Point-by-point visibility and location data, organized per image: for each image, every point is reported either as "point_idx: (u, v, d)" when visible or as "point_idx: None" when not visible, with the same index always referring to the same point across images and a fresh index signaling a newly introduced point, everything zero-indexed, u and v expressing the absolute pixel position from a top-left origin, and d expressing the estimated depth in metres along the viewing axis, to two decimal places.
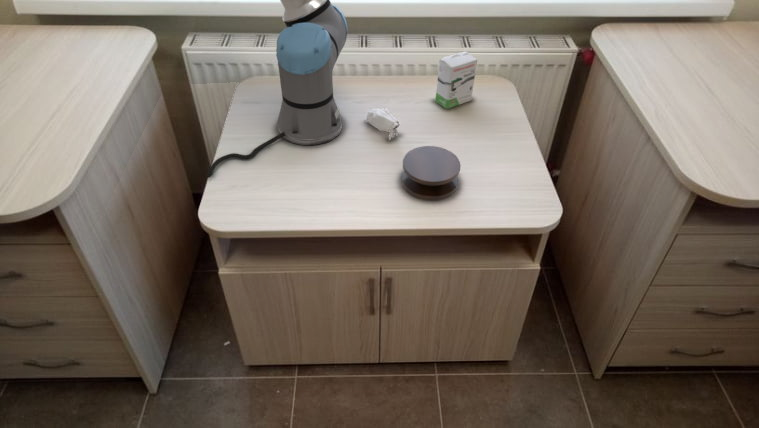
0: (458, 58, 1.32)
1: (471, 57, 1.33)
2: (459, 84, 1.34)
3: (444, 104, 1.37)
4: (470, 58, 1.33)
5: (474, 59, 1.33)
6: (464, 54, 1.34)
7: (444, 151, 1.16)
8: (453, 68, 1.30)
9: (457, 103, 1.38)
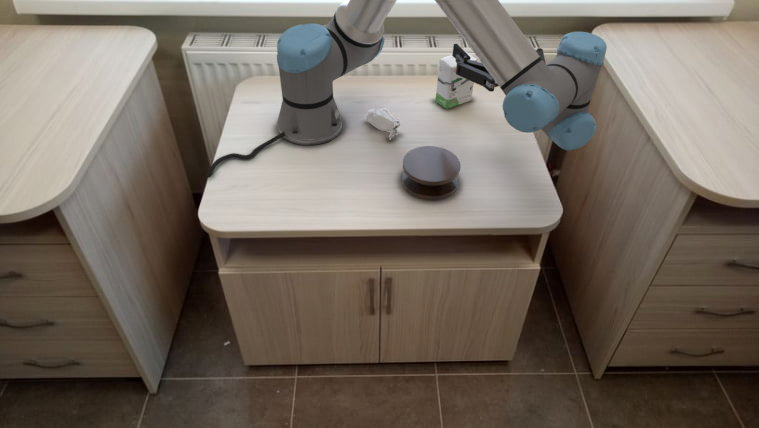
0: None
1: (471, 57, 1.33)
2: (459, 84, 1.34)
3: (444, 104, 1.37)
4: (471, 58, 1.33)
5: (474, 59, 1.33)
6: None
7: (444, 151, 1.16)
8: (453, 68, 1.30)
9: (457, 103, 1.38)
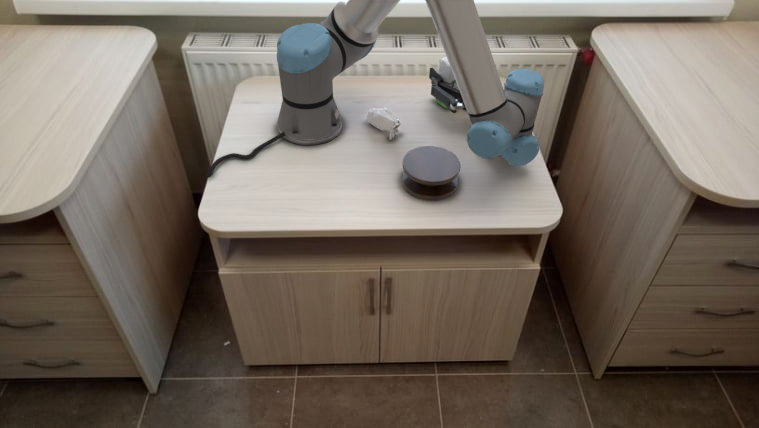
0: None
1: None
2: None
3: None
4: None
5: None
6: None
7: (444, 151, 1.16)
8: None
9: None
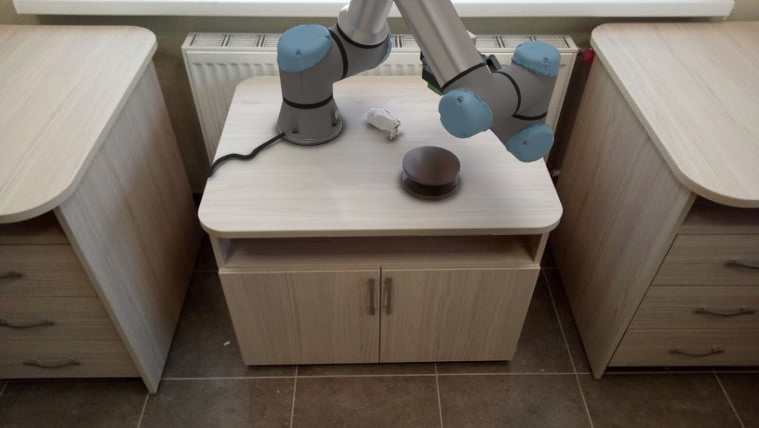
0: None
1: (469, 34, 1.12)
2: None
3: (438, 90, 1.16)
4: (469, 35, 1.12)
5: (473, 36, 1.12)
6: None
7: (444, 151, 1.16)
8: None
9: None
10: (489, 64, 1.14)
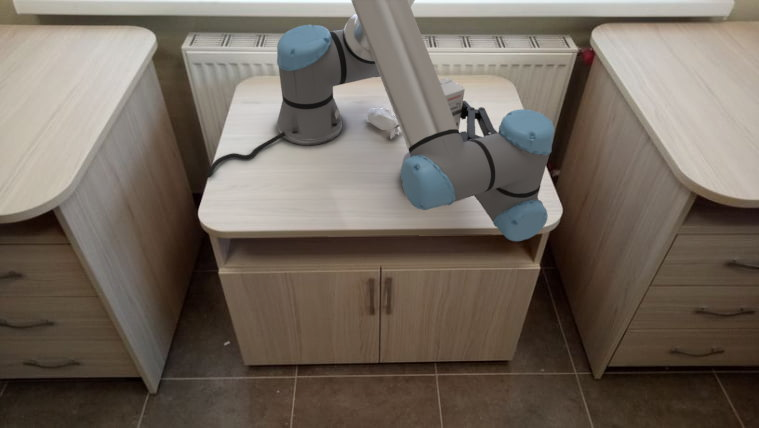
0: None
1: (456, 86, 1.02)
2: None
3: None
4: (456, 87, 1.01)
5: (460, 88, 1.01)
6: (447, 81, 1.02)
7: None
8: None
9: None
10: (478, 118, 1.04)
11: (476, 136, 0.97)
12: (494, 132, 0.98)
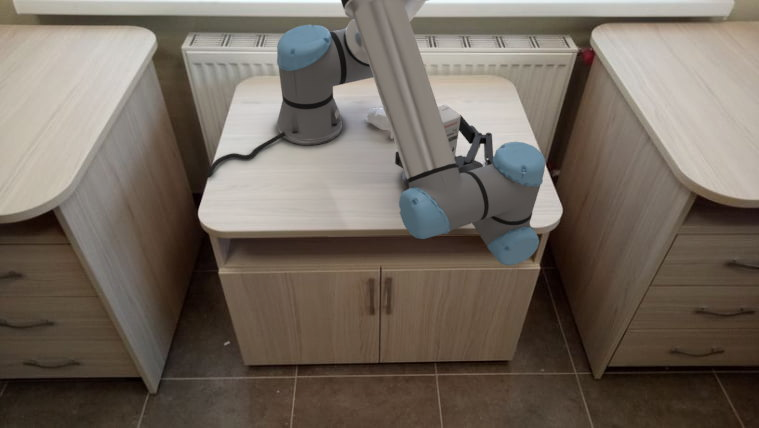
0: None
1: (453, 113, 1.06)
2: None
3: None
4: (452, 114, 1.05)
5: (457, 116, 1.05)
6: (444, 109, 1.06)
7: None
8: None
9: None
10: (485, 142, 1.07)
11: (472, 160, 1.01)
12: (492, 158, 1.01)
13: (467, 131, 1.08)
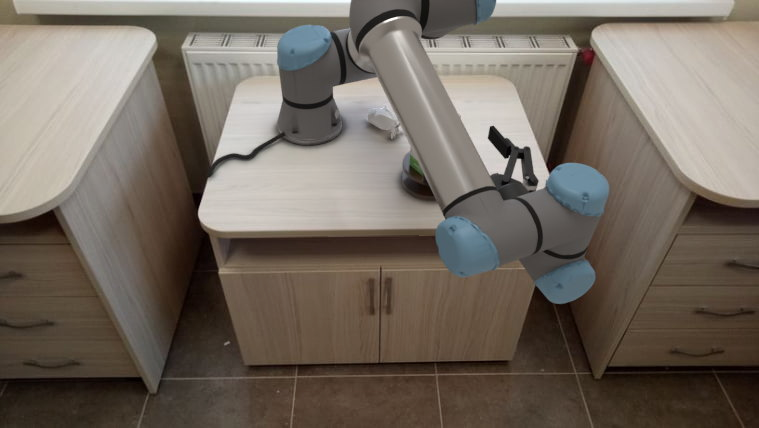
0: None
1: None
2: None
3: (420, 170, 1.09)
4: None
5: None
6: None
7: None
8: None
9: None
10: (522, 157, 0.95)
11: (510, 179, 0.89)
12: (533, 176, 0.89)
13: (501, 144, 0.96)
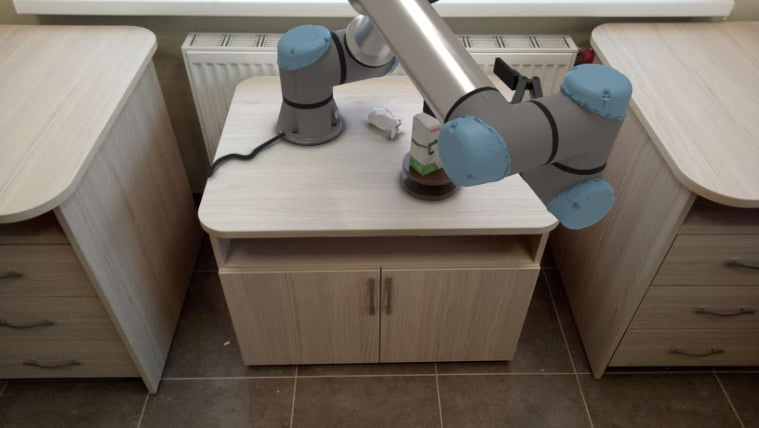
0: None
1: None
2: None
3: (420, 170, 1.09)
4: None
5: None
6: None
7: None
8: (429, 129, 1.02)
9: (436, 168, 1.11)
10: (531, 88, 0.88)
11: None
12: None
13: (508, 74, 0.89)
